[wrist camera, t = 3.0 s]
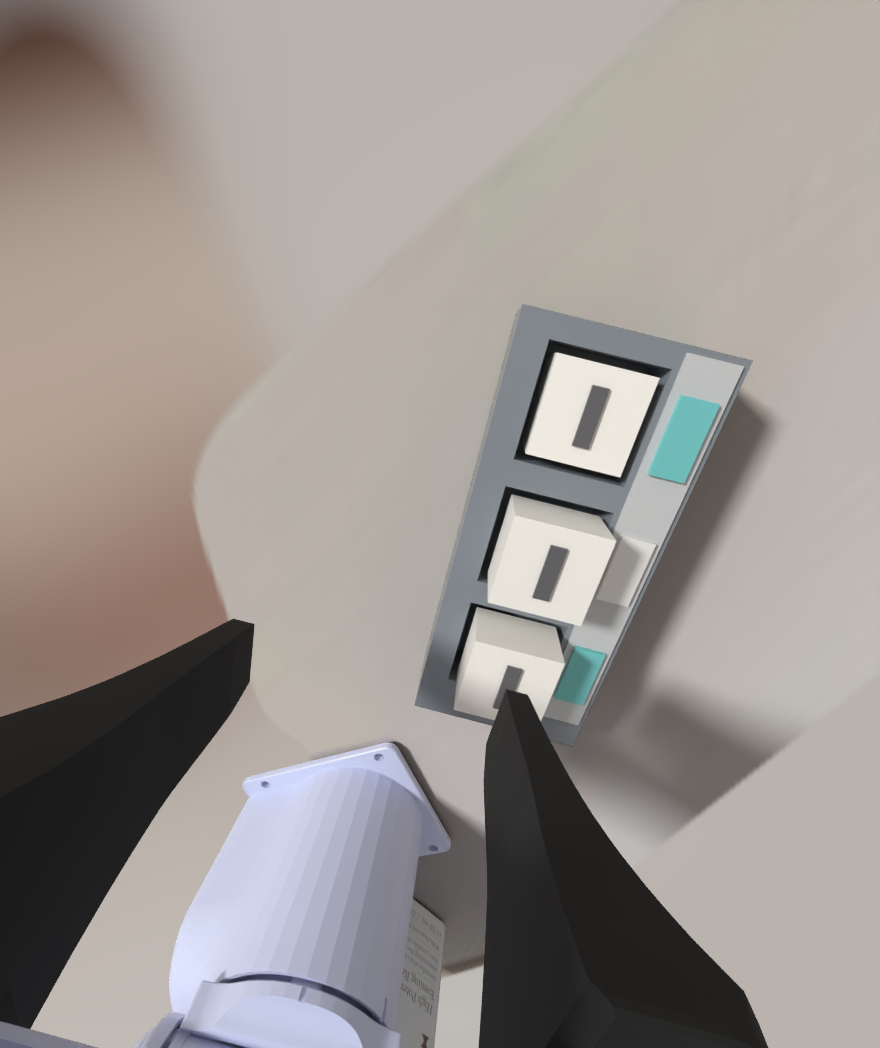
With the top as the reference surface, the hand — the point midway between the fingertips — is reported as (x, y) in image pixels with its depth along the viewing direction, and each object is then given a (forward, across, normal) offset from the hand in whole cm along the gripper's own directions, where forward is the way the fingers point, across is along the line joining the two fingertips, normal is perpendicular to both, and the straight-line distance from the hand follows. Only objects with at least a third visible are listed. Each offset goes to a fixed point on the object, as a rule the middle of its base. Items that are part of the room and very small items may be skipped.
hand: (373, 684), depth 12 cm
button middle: (+5, -4, -3) cm, 7 cm away
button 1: (+5, -4, +1) cm, 6 cm away
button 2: (+6, -4, -8) cm, 11 cm away
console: (+7, -5, -3) cm, 9 cm away
